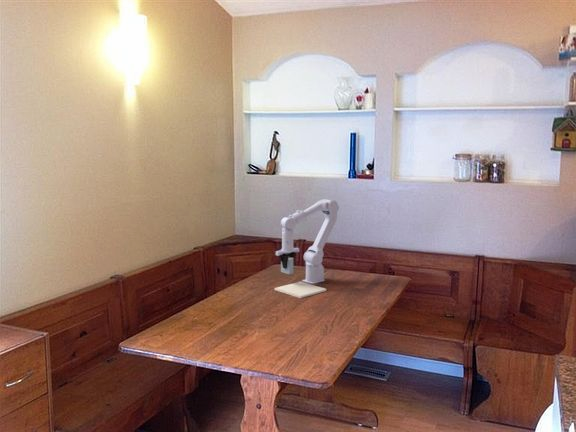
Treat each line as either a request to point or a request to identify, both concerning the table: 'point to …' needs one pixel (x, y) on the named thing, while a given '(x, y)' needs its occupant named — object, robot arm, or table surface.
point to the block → (288, 266)
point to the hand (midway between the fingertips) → (287, 267)
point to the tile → (300, 289)
